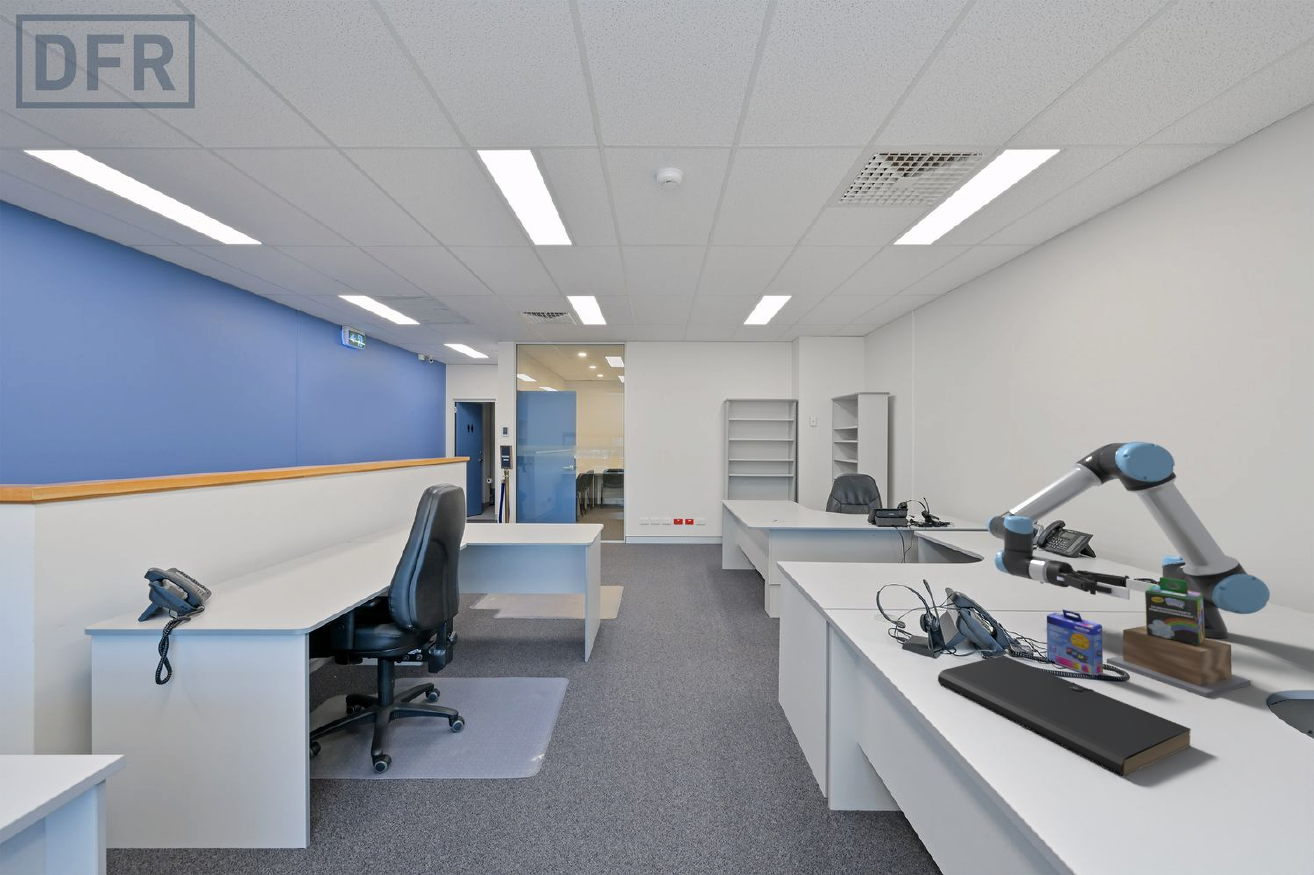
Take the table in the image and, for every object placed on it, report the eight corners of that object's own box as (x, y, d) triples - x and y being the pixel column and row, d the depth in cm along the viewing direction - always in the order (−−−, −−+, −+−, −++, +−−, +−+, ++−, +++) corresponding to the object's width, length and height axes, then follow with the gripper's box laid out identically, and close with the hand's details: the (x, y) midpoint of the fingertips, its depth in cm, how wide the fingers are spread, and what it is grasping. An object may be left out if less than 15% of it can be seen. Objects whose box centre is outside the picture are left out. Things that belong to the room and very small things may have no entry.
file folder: (1191, 726, 87) (1121, 757, 78) (1192, 748, 87) (1121, 782, 78) (1004, 653, 117) (937, 670, 108) (1004, 670, 117) (937, 687, 108)
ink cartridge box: (1045, 661, 122) (1045, 605, 122) (1055, 657, 125) (1055, 603, 125) (1093, 677, 113) (1093, 618, 114) (1103, 673, 116) (1103, 615, 116)
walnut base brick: (1154, 653, 126) (1153, 624, 126) (1231, 677, 112) (1231, 644, 113) (1123, 660, 121) (1123, 629, 121) (1200, 686, 108) (1199, 651, 108)
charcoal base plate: (1150, 653, 128) (1150, 649, 129) (1250, 684, 112) (1250, 680, 112) (1106, 662, 122) (1106, 658, 122) (1206, 697, 105) (1205, 692, 105)
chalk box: (1205, 639, 116) (1204, 580, 116) (1200, 647, 111) (1199, 585, 111) (1151, 627, 123) (1151, 571, 124) (1144, 634, 118) (1144, 576, 119)
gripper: (1077, 581, 147) (1169, 602, 127) (1025, 587, 138) (1115, 611, 118) (1077, 557, 147) (1169, 574, 127) (1025, 562, 138) (1115, 581, 119)
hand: (1144, 592), depth 123 cm, fingers open, 13 cm apart
